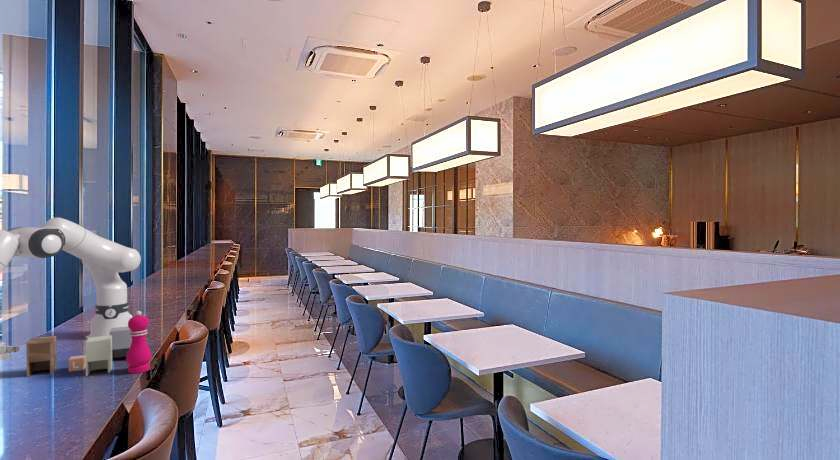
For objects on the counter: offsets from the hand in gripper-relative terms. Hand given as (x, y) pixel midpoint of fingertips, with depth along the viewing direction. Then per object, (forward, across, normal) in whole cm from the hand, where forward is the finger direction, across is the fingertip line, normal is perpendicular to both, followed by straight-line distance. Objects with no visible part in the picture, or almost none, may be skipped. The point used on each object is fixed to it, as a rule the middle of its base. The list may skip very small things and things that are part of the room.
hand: (15, 352), depth 145 cm
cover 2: (+28, +5, +7) cm, 30 cm away
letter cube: (+16, 0, +8) cm, 18 cm away
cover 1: (+23, -8, +8) cm, 25 cm away
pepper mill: (+35, -13, +8) cm, 38 cm away
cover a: (+7, +1, +8) cm, 10 cm away
